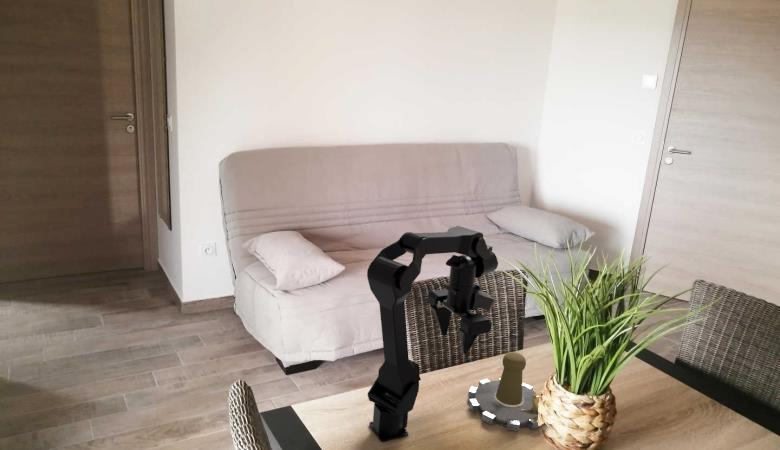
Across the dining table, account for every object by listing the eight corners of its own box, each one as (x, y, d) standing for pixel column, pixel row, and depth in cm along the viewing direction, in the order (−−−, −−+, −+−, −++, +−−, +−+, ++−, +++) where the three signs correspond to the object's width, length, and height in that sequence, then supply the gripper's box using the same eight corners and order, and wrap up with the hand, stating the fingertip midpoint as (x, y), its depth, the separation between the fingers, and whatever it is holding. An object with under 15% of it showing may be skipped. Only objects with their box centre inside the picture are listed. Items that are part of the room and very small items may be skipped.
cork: (522, 407, 131) (529, 364, 128) (495, 402, 132) (501, 359, 129) (522, 393, 137) (528, 351, 134) (496, 388, 138) (502, 346, 135)
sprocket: (524, 442, 123) (528, 418, 121) (452, 405, 134) (455, 382, 132) (562, 407, 136) (566, 385, 135) (494, 376, 148) (497, 355, 146)
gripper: (515, 293, 127) (506, 357, 131) (468, 264, 143) (461, 322, 147) (473, 299, 122) (465, 366, 127) (429, 268, 138) (423, 328, 142)
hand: (454, 344), depth 136 cm, fingers open, 9 cm apart
